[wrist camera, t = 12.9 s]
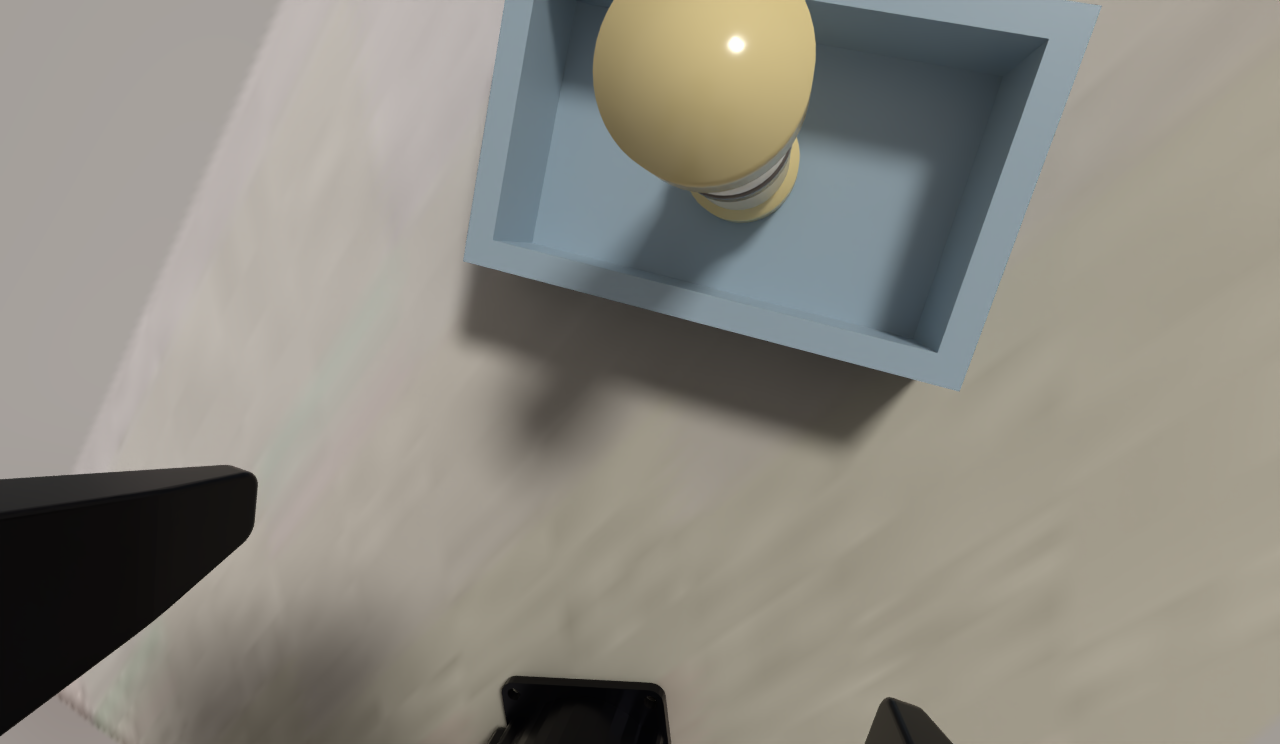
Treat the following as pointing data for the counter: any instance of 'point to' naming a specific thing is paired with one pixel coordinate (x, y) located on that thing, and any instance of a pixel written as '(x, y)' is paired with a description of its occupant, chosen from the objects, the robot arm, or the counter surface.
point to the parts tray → (824, 189)
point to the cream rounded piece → (709, 95)
